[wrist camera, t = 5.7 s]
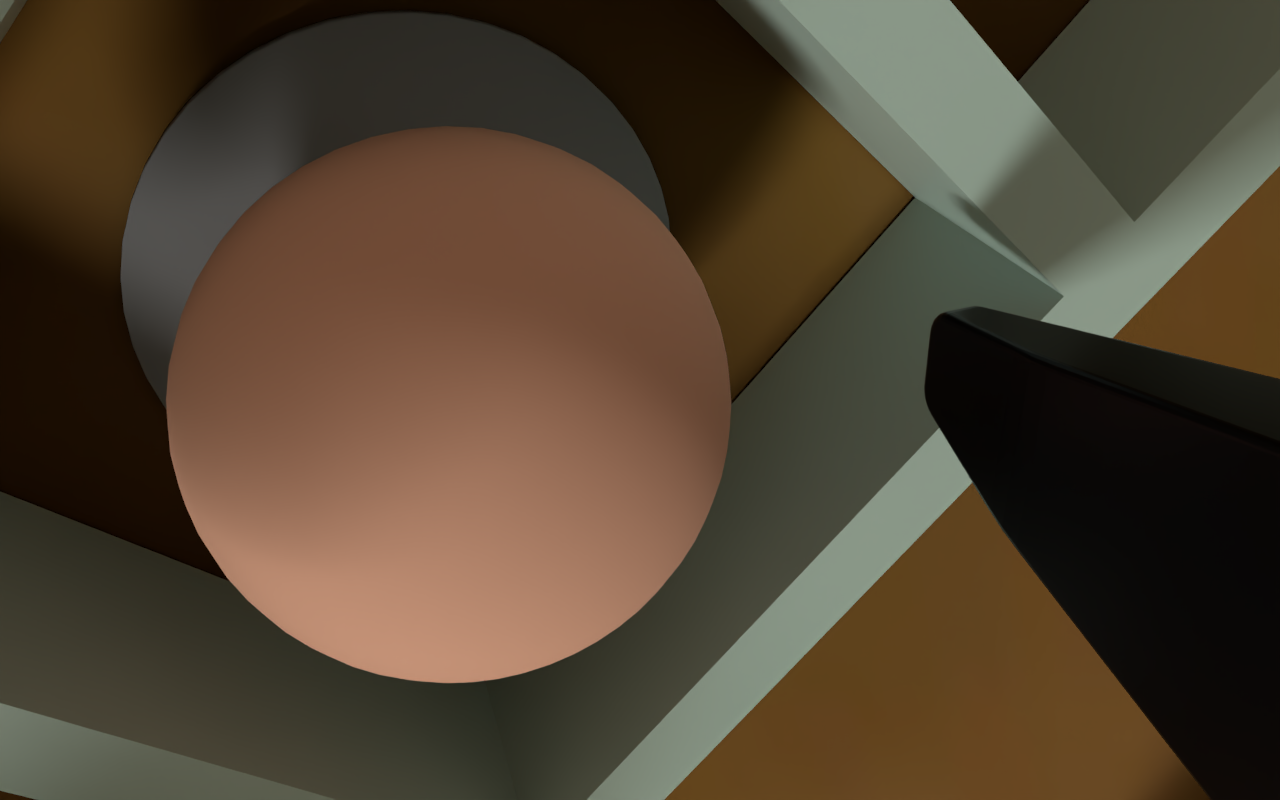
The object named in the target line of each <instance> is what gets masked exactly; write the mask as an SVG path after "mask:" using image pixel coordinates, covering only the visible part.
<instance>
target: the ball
mask: <svg viewBox="0 0 1280 800" xmlns="http://www.w3.org/2000/svg"><path fill="white" fill-rule="evenodd" d="M166 407H167V422H168V434H169V446H170V454H171V458H172V462H173V466H174V470H175V474H176V478H177V482H178V485H179V488H180V491H181V494H182V497H183V500H184V503H185V506H186V508H187V510H188V512H189V515H190V517H191V519H192V521H193V524H194V526H195V528H196V530H197V533H198V535H199V536H200V538H201V539H202V541H203V542H204V544H205V545H206V547H207V548H208V550H209V551H210V553H211V554H212V556H213V557H214V559H215V561H216V562H217V564H218V565H219V567H220V568H221V570H222V571H223V573H224V574H225V575H226V577H227V578H228V579H229V580H230V582H231V583H232V584H233V585H234V586H235V587H236V588H237V589H238V590H239V592H240V593H241V594H242V595H243V596H244V597H245V598H246V599H247V600H248V601H249V602H250V603H251V604H252V605H253V606H255V607H256V608H257V609H258V610H259V611H260V612H261V613H262V614H264V615H265V616H266V617H267V618H269V619H270V620H271V621H272V622H273V623H275V624H276V625H277V626H278V627H280V628H281V629H282V630H283V631H284V632H286V633H287V634H289V635H291V636H292V637H294V638H296V639H297V640H299V641H301V642H302V643H304V644H305V645H307V646H309V647H310V648H312V649H315V650H317V651H319V652H321V653H323V654H325V655H327V656H329V657H332V658H334V659H336V660H338V661H341V662H343V663H345V664H347V665H350V666H352V667H355V668H358V669H362V670H365V671H368V672H372V673H375V674H378V675H383V676H389V677H394V678H400V679H406V680H413V681H422V682H437V683H466V682H479V681H486V680H494V679H500V678H505V677H509V676H514V675H518V674H522V673H526V672H529V671H532V670H535V669H538V668H541V667H544V666H547V665H550V664H553V663H555V662H557V661H560V660H562V659H564V658H567V657H569V656H571V655H574V654H575V653H577V652H579V651H581V650H583V649H585V648H586V647H588V646H590V645H592V644H594V643H596V642H597V641H599V640H600V639H602V638H603V637H605V636H606V635H608V634H609V633H611V632H612V631H614V630H615V629H617V628H618V627H619V626H621V625H622V624H623V623H624V622H626V621H627V620H628V619H629V618H631V617H632V616H633V615H634V614H635V613H637V612H638V611H639V610H640V609H641V608H642V607H643V606H644V605H645V604H646V603H647V602H648V601H649V600H650V599H651V598H652V597H653V596H654V595H655V594H656V593H657V592H658V590H659V589H660V588H661V587H662V586H663V585H664V583H665V582H666V581H667V580H668V578H669V577H670V576H671V575H672V574H673V572H674V571H675V570H676V569H677V567H678V566H679V565H680V564H681V562H682V561H683V559H684V558H685V556H686V554H687V553H688V551H689V550H690V548H691V547H692V545H693V544H694V542H695V540H696V538H697V536H698V534H699V532H700V530H701V528H702V526H703V524H704V522H705V520H706V518H707V515H708V513H709V511H710V508H711V506H712V503H713V500H714V497H715V495H716V492H717V489H718V486H719V483H720V480H721V477H722V473H723V468H724V463H725V459H726V454H727V448H728V440H729V432H730V417H731V392H730V379H729V369H728V361H727V354H726V350H725V346H724V341H723V337H722V333H721V328H720V325H719V323H718V320H717V317H716V315H715V312H714V310H713V307H712V304H711V302H710V299H709V297H708V294H707V292H706V289H705V287H704V284H703V282H702V280H701V278H700V277H699V275H698V273H697V272H696V270H695V268H694V266H693V265H692V263H691V261H690V260H689V258H688V256H687V255H686V253H685V252H684V250H683V249H682V247H681V246H680V245H679V243H678V242H677V240H676V239H675V238H674V237H673V235H672V234H671V233H670V232H669V230H668V229H667V228H666V227H665V225H664V224H663V223H662V222H661V221H660V219H659V218H658V217H657V216H656V215H655V214H654V213H653V212H652V211H651V210H650V209H649V208H648V207H647V206H645V205H644V204H643V203H642V202H641V201H640V200H639V199H638V198H637V197H636V196H634V195H633V194H632V193H631V192H630V191H629V190H627V189H626V188H625V187H624V186H623V185H621V184H620V183H619V182H617V181H616V180H614V179H613V178H611V177H610V176H608V175H607V174H606V173H604V172H603V171H601V170H600V169H598V168H597V167H595V166H594V165H592V164H590V163H588V162H586V161H584V160H582V159H580V158H578V157H576V156H574V155H572V154H570V153H568V152H565V151H563V150H561V149H559V148H556V147H554V146H551V145H548V144H545V143H542V142H539V141H536V140H533V139H530V138H526V137H523V136H520V135H517V134H513V133H507V132H501V131H496V130H490V129H485V128H474V127H453V126H441V127H428V128H416V129H407V130H402V131H397V132H392V133H388V134H383V135H378V136H374V137H370V138H367V139H364V140H361V141H359V142H356V143H353V144H350V145H347V146H344V147H342V148H339V149H336V150H334V151H332V152H330V153H328V154H326V155H324V156H322V157H320V158H318V159H316V160H314V161H312V162H310V163H308V164H306V165H304V166H302V167H301V168H299V169H298V170H296V171H295V172H294V173H292V174H291V175H289V176H288V177H286V178H285V179H283V180H282V181H280V182H279V183H277V184H276V185H275V186H273V187H272V188H270V189H269V190H268V191H267V192H266V193H265V194H264V195H263V196H262V197H261V198H259V199H258V200H257V201H256V202H255V203H254V204H253V205H252V206H251V207H250V208H248V209H247V210H246V211H245V212H244V213H243V214H242V216H241V217H240V218H239V219H238V220H237V222H236V223H235V224H234V225H233V226H232V228H231V229H230V230H229V231H228V232H227V234H226V235H225V236H224V237H223V238H222V240H221V241H220V243H219V244H218V245H217V247H216V248H215V250H214V252H213V253H212V255H211V256H210V258H209V260H208V261H207V263H206V265H205V266H204V268H203V269H202V271H201V273H200V274H199V276H198V278H197V279H196V281H195V283H194V285H193V288H192V290H191V293H190V295H189V297H188V300H187V302H186V304H185V307H184V309H183V312H182V314H181V318H180V322H179V326H178V330H177V334H176V338H175V342H174V346H173V350H172V354H171V358H170V363H169V370H168V382H167V394H166Z"/></svg>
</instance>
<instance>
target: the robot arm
mask: <svg viewBox="0 0 1280 800" xmlns="http://www.w3.org/2000/svg"><path fill="white" fill-rule="evenodd" d="M924 394H925V400H926V404H927V407H928V409H929V411H930V413H931V415H932V417H933V419H934V420H935V422H936V424H937V425H938V427H939V428H940V430H941V432H942V433H943V435H944V437H945V438H946V440H947V442H948V443H949V445H950V446H951V448H952V450H953V451H954V453H955V455H956V456H957V458H958V460H959V461H960V463H961V465H962V466H963V468H964V469H965V471H966V473H967V474H968V476H969V478H970V479H971V481H972V483H973V484H974V486H975V487H976V489H977V491H978V492H979V494H980V496H981V497H982V499H983V501H984V502H985V504H986V505H987V507H988V509H989V510H990V512H991V513H992V515H993V516H994V518H995V519H996V521H997V522H998V524H999V525H1000V527H1001V529H1002V530H1003V531H1004V533H1005V534H1006V535H1007V537H1008V538H1009V540H1010V541H1011V542H1012V544H1013V545H1014V546H1015V548H1016V549H1017V550H1018V552H1019V553H1020V554H1021V556H1022V557H1023V558H1024V559H1025V561H1026V562H1027V563H1028V565H1029V566H1030V567H1031V568H1032V570H1033V571H1034V572H1035V574H1036V575H1037V576H1038V577H1039V579H1040V580H1041V581H1042V583H1043V584H1044V585H1045V587H1046V588H1047V589H1048V590H1049V592H1050V593H1051V594H1052V596H1053V597H1054V598H1055V599H1056V601H1057V602H1058V603H1059V605H1060V606H1061V607H1062V608H1063V610H1064V611H1065V612H1066V614H1067V615H1068V616H1069V618H1070V619H1071V620H1072V621H1073V623H1074V624H1075V625H1076V627H1077V628H1078V629H1079V630H1080V632H1081V633H1082V634H1083V636H1084V637H1085V638H1086V639H1087V641H1088V642H1089V643H1090V645H1091V646H1092V647H1093V649H1094V650H1095V651H1096V652H1097V654H1098V655H1099V656H1100V658H1101V659H1102V660H1103V661H1104V663H1105V664H1106V665H1107V667H1108V668H1109V669H1110V670H1111V672H1112V673H1113V674H1114V676H1115V677H1116V678H1117V680H1118V681H1119V682H1120V683H1121V685H1122V686H1123V687H1124V689H1125V690H1126V691H1127V692H1128V694H1129V695H1130V696H1131V698H1132V699H1133V700H1134V701H1135V703H1136V704H1137V705H1138V707H1139V708H1140V709H1141V711H1142V712H1143V713H1144V714H1145V716H1146V717H1147V718H1148V720H1149V721H1150V722H1151V723H1152V725H1153V726H1154V727H1155V729H1156V730H1157V731H1158V732H1159V734H1160V735H1161V736H1162V738H1163V739H1164V740H1165V742H1166V743H1167V744H1168V745H1169V747H1170V748H1171V749H1172V751H1173V752H1174V753H1175V754H1176V756H1177V757H1178V758H1179V760H1180V761H1181V762H1182V763H1183V765H1184V766H1185V767H1186V769H1187V770H1188V771H1189V773H1190V774H1191V775H1192V776H1193V778H1194V779H1195V780H1196V782H1197V783H1198V784H1199V785H1200V787H1201V788H1202V789H1203V791H1204V792H1205V793H1206V794H1207V796H1208V797H1209V798H1210V800H1280V379H1278V378H1273V377H1269V376H1265V375H1261V374H1257V373H1253V372H1249V371H1245V370H1241V369H1236V368H1232V367H1228V366H1224V365H1220V364H1216V363H1212V362H1208V361H1204V360H1199V359H1195V358H1191V357H1187V356H1183V355H1179V354H1175V353H1171V352H1167V351H1162V350H1158V349H1154V348H1150V347H1146V346H1142V345H1138V344H1134V343H1130V342H1125V341H1121V340H1117V339H1113V338H1109V337H1105V336H1101V335H1097V334H1093V333H1088V332H1084V331H1080V330H1076V329H1072V328H1068V327H1064V326H1060V325H1056V324H1051V323H1047V322H1043V321H1039V320H1035V319H1031V318H1027V317H1023V316H1019V315H1014V314H1010V313H1006V312H1002V311H998V310H994V309H990V308H986V307H981V306H970V307H965V308H960V309H956V310H951V311H946V312H943V313H940V314H939V315H938V316H937V317H936V318H935V319H934V321H933V323H932V325H931V330H930V338H929V347H928V356H927V365H926V374H925V383H924Z"/></svg>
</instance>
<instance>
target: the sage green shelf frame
mask: <svg viewBox="0 0 1280 800" xmlns="http://www.w3.org/2000/svg"><path fill="white" fill-rule="evenodd" d="M716 1H717V2H718V3H719V4H720V5H721V6H722V7H723V8H724V9H725V10H726V11H727V12H728V13H729V14H730V15H731V16H732V17H733V18H734V19H735V20H736V21H737V22H738V23H739V24H740V25H741V26H742V27H743V28H744V29H745V30H746V31H747V32H748V33H749V34H750V35H751V36H752V37H753V38H754V39H755V40H756V41H757V42H758V43H759V44H760V45H761V46H762V47H763V48H764V49H765V50H766V51H767V52H768V53H769V54H770V55H771V56H772V57H773V58H774V59H775V60H776V61H777V62H778V63H779V64H780V65H781V66H782V67H783V68H784V69H785V70H787V71H788V72H789V73H790V74H791V75H792V76H793V77H794V78H795V79H796V80H797V81H798V82H799V83H800V84H801V85H802V86H803V87H804V88H805V89H806V90H807V91H808V92H809V93H810V94H811V95H812V96H813V97H814V98H815V99H816V100H817V101H818V102H819V103H820V104H821V105H822V106H823V107H824V108H825V109H826V110H827V111H828V112H829V113H830V114H831V115H832V116H833V117H834V118H835V119H836V120H837V121H838V122H839V123H840V124H841V125H842V126H843V127H844V128H845V129H846V130H847V131H848V132H849V133H850V134H851V135H852V136H853V137H854V138H855V139H856V140H857V141H858V142H860V143H861V144H862V145H863V146H864V147H865V148H866V149H867V150H868V151H869V152H870V153H871V154H872V155H873V156H874V157H875V158H876V159H877V160H878V161H879V162H880V163H881V164H882V165H883V166H884V167H885V168H886V169H887V170H888V171H889V172H890V173H891V174H892V175H893V176H894V177H895V178H896V179H897V180H898V181H899V182H900V183H901V184H902V185H903V186H904V187H905V188H906V189H907V190H908V191H909V192H910V193H911V194H912V195H913V196H914V197H915V198H914V199H913V200H912V202H911V203H910V204H909V205H908V206H907V207H906V208H905V209H904V211H903V212H902V213H901V214H900V215H899V216H898V217H897V218H896V220H895V221H894V222H893V223H892V224H891V225H890V226H889V228H888V229H887V230H886V231H885V232H884V233H883V234H882V235H881V237H880V238H879V239H878V240H877V241H876V242H875V243H874V244H873V246H872V247H871V248H870V249H869V250H868V251H867V252H866V253H865V255H864V256H863V257H862V258H861V259H860V260H859V261H858V262H857V264H856V265H855V266H854V267H853V268H852V269H851V270H850V271H849V273H848V274H847V275H846V276H845V277H844V278H843V279H842V280H841V282H840V283H839V284H838V285H837V286H836V287H835V288H834V289H833V291H832V292H831V293H830V294H829V295H828V296H827V297H826V298H825V300H824V301H823V302H822V303H821V304H820V305H819V306H818V308H817V309H816V310H815V311H814V312H813V313H812V314H811V315H810V317H809V318H808V319H807V320H806V321H805V322H804V323H803V324H802V326H801V327H800V328H799V329H798V330H797V331H796V332H795V333H794V335H793V336H792V337H791V338H790V339H789V340H788V341H787V342H786V344H785V345H784V346H783V347H782V348H781V349H780V350H779V351H778V353H777V354H776V355H775V356H774V357H773V358H772V359H771V360H770V362H769V363H768V364H767V365H766V366H765V367H764V368H763V369H762V371H761V372H760V373H759V374H758V375H757V376H756V377H755V379H754V380H753V381H752V382H751V383H750V384H749V385H748V386H747V388H746V389H745V390H744V391H743V392H742V393H741V394H740V395H739V397H738V398H737V399H736V400H735V401H734V402H733V403H732V404H731V417H730V432H729V440H728V448H727V454H726V459H725V463H724V468H723V473H722V477H721V480H720V483H719V486H718V489H717V492H716V495H715V497H714V500H713V503H712V506H711V508H710V511H709V513H708V515H707V518H706V520H705V522H704V524H703V526H702V528H701V530H700V532H699V534H698V536H697V538H696V540H695V542H694V544H693V545H692V547H691V548H690V550H689V551H688V553H687V554H686V556H685V558H684V559H683V561H682V562H681V564H680V565H679V566H678V567H677V569H676V570H675V571H674V572H673V574H672V575H671V576H670V577H669V578H668V580H667V581H666V582H665V583H664V585H663V586H662V587H661V588H660V589H659V590H658V592H657V593H656V594H655V595H654V596H653V597H652V598H651V599H650V600H649V601H648V602H647V603H646V604H645V605H644V606H643V607H642V608H641V609H640V610H639V611H638V612H637V613H635V614H634V615H633V616H632V617H631V618H629V619H628V620H627V621H626V622H624V623H623V624H622V625H621V626H619V627H618V628H617V629H615V630H614V631H612V632H611V633H609V634H608V635H606V636H605V637H603V638H602V639H600V640H599V641H597V642H596V643H594V644H592V645H590V646H588V647H586V648H585V649H583V650H581V651H579V652H577V653H575V654H574V655H571V656H569V657H567V658H564V659H562V660H560V661H557V662H555V663H553V664H550V665H547V666H544V667H541V668H538V669H535V670H532V671H529V672H526V673H522V674H518V675H514V676H509V677H505V678H500V679H494V680H486V682H485V681H479V682H466V683H437V682H422V681H413V680H406V679H400V678H394V677H389V676H383V675H378V674H375V673H372V672H368V671H365V670H362V669H358V668H355V667H352V666H350V665H347V664H345V663H343V662H341V661H338V660H336V659H334V658H332V657H329V656H327V655H325V654H323V653H321V652H319V651H317V650H315V649H312V648H310V647H309V646H307V645H305V644H304V643H302V642H301V641H299V640H297V639H296V638H294V637H292V636H291V635H289V634H287V633H286V632H284V631H283V630H282V629H281V628H280V627H278V626H277V625H276V624H275V623H273V622H272V621H271V620H270V619H269V618H267V617H266V616H265V615H264V614H262V613H261V612H260V611H259V610H258V609H257V608H256V607H255V606H253V605H252V604H251V603H250V602H249V601H248V600H247V599H246V598H245V597H244V596H243V595H242V594H241V593H240V592H239V590H238V589H237V588H236V587H235V586H234V585H233V584H232V583H231V582H230V581H227V580H225V579H222V578H220V577H217V576H214V575H212V574H209V573H207V572H204V571H202V570H199V569H197V568H194V567H191V566H189V565H186V564H184V563H181V562H179V561H176V560H174V559H171V558H169V557H166V556H163V555H161V554H158V553H156V552H153V551H151V550H148V549H146V548H143V547H141V546H138V545H135V544H133V543H130V542H128V541H125V540H123V539H120V538H118V537H115V536H112V535H110V534H107V533H105V532H102V531H100V530H97V529H95V528H92V527H90V526H87V525H84V524H82V523H79V522H77V521H74V520H72V519H69V518H67V517H64V516H61V515H59V514H56V513H54V512H51V511H49V510H46V509H44V508H41V507H39V506H36V505H33V504H31V503H28V502H26V501H23V500H21V499H18V498H16V497H13V496H11V495H8V494H5V493H3V492H0V791H3V792H7V793H11V794H16V795H20V796H24V797H28V798H32V799H36V800H664V799H665V798H666V797H667V796H668V795H669V794H670V793H671V792H672V791H673V790H674V789H675V788H676V787H677V786H678V785H679V784H680V783H681V782H682V781H683V780H684V779H685V778H686V777H687V776H688V775H689V773H690V772H691V771H692V770H693V769H694V768H695V767H696V766H697V765H698V764H699V763H700V762H701V761H702V760H703V759H704V758H705V757H706V756H707V755H708V754H709V753H710V752H711V751H712V750H713V749H714V748H715V747H716V746H717V745H718V744H719V743H720V742H721V741H722V740H723V738H724V737H725V736H726V735H727V734H728V733H729V732H730V731H731V730H732V729H733V728H734V727H735V726H736V725H737V724H738V723H739V722H740V721H741V720H742V719H743V718H744V717H745V716H746V715H747V714H748V713H749V712H750V711H751V710H752V709H753V708H754V707H755V706H756V705H757V703H758V702H759V701H760V700H761V699H762V698H763V697H764V696H765V695H766V694H767V693H768V692H769V691H770V690H771V689H772V688H773V687H774V686H775V685H776V684H777V683H778V682H779V681H780V680H781V679H782V678H783V677H784V676H785V675H786V674H787V673H788V672H789V671H790V669H791V668H792V667H793V666H794V665H795V664H796V663H797V662H798V661H799V660H800V659H801V658H802V657H803V656H804V655H805V654H806V653H807V652H808V651H809V650H810V649H811V648H812V647H813V646H814V645H815V644H816V643H817V642H818V641H819V640H820V639H821V638H822V637H823V636H824V634H825V633H826V632H827V631H828V630H829V629H830V628H831V627H832V626H833V625H834V624H835V623H836V622H837V621H838V620H839V619H840V618H841V617H842V616H843V615H844V614H845V613H846V612H847V611H848V610H849V609H850V608H851V607H852V606H853V605H854V604H855V603H856V602H857V601H858V599H859V598H860V597H861V596H862V595H863V594H864V593H865V592H866V591H867V590H868V589H869V588H870V587H871V586H872V585H873V584H874V583H875V582H876V581H877V580H878V579H879V578H880V577H881V576H882V575H883V574H884V573H885V572H886V571H887V570H888V569H889V568H890V567H891V565H892V564H893V563H894V562H895V561H896V560H897V559H898V558H899V557H900V556H901V555H902V554H903V553H904V552H905V551H906V550H907V549H908V548H909V547H910V546H911V545H912V544H913V543H914V542H915V541H916V540H917V539H918V538H919V537H920V536H921V535H922V534H923V533H924V532H925V530H926V529H927V528H928V527H929V526H930V525H931V524H932V523H933V522H934V521H935V520H936V519H937V518H938V517H939V516H940V515H941V514H942V513H943V512H944V511H945V510H946V509H947V508H948V507H949V506H950V505H951V504H952V503H953V502H954V501H955V500H956V499H957V498H958V497H959V495H960V494H961V493H962V492H963V491H964V490H965V489H966V488H967V487H968V486H969V485H970V484H971V483H972V481H971V479H970V478H969V476H968V474H967V473H966V471H965V469H964V468H963V466H962V465H961V463H960V461H959V460H958V458H957V456H956V455H955V453H954V451H953V450H952V448H951V446H950V445H949V443H948V442H947V440H946V438H945V437H944V435H943V433H942V432H941V430H940V428H939V427H938V425H937V424H936V422H935V420H934V419H933V417H932V415H931V413H930V411H929V409H928V407H927V404H926V400H925V394H924V383H925V374H926V365H927V356H928V347H929V338H930V330H931V325H932V323H933V321H934V319H935V318H936V317H937V316H938V315H939V314H940V313H943V312H946V311H951V310H956V309H960V308H965V307H970V306H981V307H986V308H990V309H994V310H998V311H1002V312H1006V313H1010V314H1014V315H1019V316H1023V317H1027V318H1031V319H1035V320H1039V321H1043V322H1047V323H1051V324H1056V325H1060V326H1064V327H1068V328H1072V329H1076V330H1080V331H1084V332H1088V333H1093V334H1097V335H1101V336H1105V337H1109V338H1113V337H1114V336H1115V335H1116V334H1117V333H1118V332H1119V331H1120V330H1121V329H1122V328H1123V327H1124V326H1125V325H1126V324H1127V322H1128V321H1129V320H1130V319H1131V318H1132V317H1133V316H1134V315H1135V314H1136V313H1137V312H1138V311H1139V310H1140V309H1141V308H1142V307H1143V306H1144V305H1145V304H1146V303H1147V302H1148V301H1149V300H1150V299H1151V298H1152V297H1153V296H1154V295H1155V294H1156V293H1157V292H1158V291H1159V290H1160V289H1161V287H1162V286H1163V285H1164V284H1165V283H1166V282H1167V281H1168V280H1169V279H1170V278H1171V277H1172V276H1173V275H1174V274H1175V273H1176V272H1177V271H1178V270H1179V269H1180V268H1181V267H1182V266H1183V265H1184V264H1185V263H1186V262H1187V261H1188V260H1189V259H1190V258H1191V257H1192V256H1193V255H1194V254H1195V252H1196V251H1197V250H1198V249H1199V248H1200V247H1201V246H1202V245H1203V244H1204V243H1205V242H1206V241H1207V240H1208V239H1209V238H1210V237H1211V236H1212V235H1213V234H1214V233H1215V232H1216V231H1217V230H1218V229H1219V228H1220V227H1221V226H1222V225H1223V224H1224V223H1225V222H1226V221H1227V220H1228V218H1229V217H1230V216H1231V215H1232V214H1233V213H1234V212H1235V211H1236V210H1237V209H1238V208H1239V207H1240V206H1241V205H1242V204H1243V203H1244V202H1245V201H1246V200H1247V199H1248V198H1249V197H1250V196H1251V195H1252V194H1253V193H1254V192H1255V191H1256V190H1257V189H1258V188H1259V187H1260V186H1261V185H1262V183H1263V182H1264V181H1265V180H1266V179H1267V178H1268V177H1269V176H1270V175H1271V174H1272V173H1273V172H1274V171H1275V170H1276V169H1277V168H1278V167H1279V166H1280V0H1090V1H1089V2H1088V3H1087V4H1086V6H1085V7H1084V8H1083V9H1082V10H1081V11H1080V12H1079V13H1078V15H1077V16H1076V17H1075V18H1074V19H1073V20H1072V21H1071V22H1070V24H1069V25H1068V26H1067V27H1066V28H1065V29H1064V30H1063V31H1062V33H1061V34H1060V35H1059V36H1058V37H1057V38H1056V39H1055V40H1054V42H1053V43H1052V44H1051V45H1050V46H1049V47H1048V48H1047V49H1046V51H1045V52H1044V53H1043V54H1042V55H1041V56H1040V57H1039V58H1038V60H1037V61H1036V62H1035V63H1034V64H1033V65H1032V66H1031V67H1030V69H1029V70H1028V71H1027V72H1026V73H1025V74H1024V75H1023V77H1022V78H1021V79H1020V80H1019V81H1018V82H1017V80H1016V79H1015V78H1014V77H1013V76H1012V74H1011V73H1010V72H1009V71H1008V70H1007V68H1006V67H1005V66H1004V65H1003V64H1002V62H1001V61H1000V60H999V59H998V57H997V56H996V55H995V54H994V53H993V51H992V50H991V49H990V48H989V47H988V45H987V44H986V43H985V42H984V41H983V39H982V38H981V37H980V36H979V35H978V33H977V32H976V31H975V30H974V29H973V27H972V26H971V25H970V24H969V23H968V21H967V20H966V19H965V18H964V17H963V15H962V14H961V13H960V12H959V11H958V9H957V8H956V7H955V6H954V5H953V3H952V2H951V1H950V0H716ZM26 2H27V0H0V43H1V41H2V39H3V38H4V36H5V35H6V33H7V32H8V30H9V28H10V27H11V25H12V24H13V22H14V20H15V19H16V17H17V16H18V14H19V13H20V11H21V9H22V8H23V6H24V5H25V3H26Z"/></svg>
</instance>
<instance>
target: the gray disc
mask: <svg viewBox="0 0 1280 800" xmlns="http://www.w3.org/2000/svg"><path fill="white" fill-rule="evenodd" d="M441 126H453V127H474V128H485V129H490V130H496V131H501V132H507V133H513V134H517V135H520V136H523V137H526V138H530V139H533V140H536V141H539V142H542V143H545V144H548V145H551V146H554V147H556V148H559V149H561V150H563V151H565V152H568V153H570V154H572V155H574V156H576V157H578V158H580V159H582V160H584V161H586V162H588V163H590V164H592V165H594V166H595V167H597V168H598V169H600V170H601V171H603V172H604V173H606V174H607V175H608V176H610V177H611V178H613V179H614V180H616V181H617V182H619V183H620V184H621V185H623V186H624V187H625V188H626V189H627V190H629V191H630V192H631V193H632V194H633V195H634V196H636V197H637V198H638V199H639V200H640V201H641V202H642V203H643V204H644V205H645V206H647V207H648V208H649V209H650V210H651V211H652V212H653V213H654V214H655V215H656V216H657V217H658V218H659V219H660V221H661V222H662V223H663V224H664V225H665V227H666V228H667V229H668V230H669V232H670V228H669V218H668V214H667V210H666V206H665V201H664V197H663V193H662V189H661V186H660V183H659V181H658V178H657V176H656V173H655V171H654V168H653V166H652V163H651V161H650V158H649V156H648V155H647V153H646V151H645V149H644V148H643V146H642V144H641V142H640V141H639V139H638V137H637V135H636V134H635V132H634V130H633V129H632V127H631V126H630V125H629V124H628V122H627V121H626V120H625V118H624V117H623V116H622V115H621V113H620V112H619V111H618V109H617V108H616V107H615V105H614V104H613V103H612V102H611V101H610V100H609V99H608V98H607V97H606V96H605V95H604V94H603V93H602V92H601V91H600V90H599V89H598V88H597V87H596V86H595V85H594V84H593V83H592V82H590V81H589V80H588V79H587V78H586V77H585V76H584V75H583V74H582V73H581V72H579V71H578V70H577V69H575V68H574V67H572V66H571V65H570V64H568V63H567V62H566V61H564V60H563V59H562V58H560V57H559V56H557V55H556V54H555V53H553V52H551V51H550V50H548V49H546V48H544V47H542V46H540V45H538V44H537V43H535V42H533V41H531V40H529V39H527V38H525V37H524V36H522V35H519V34H517V33H514V32H511V31H509V30H506V29H503V28H500V27H498V26H495V25H492V24H490V23H487V22H484V21H479V20H475V19H470V18H466V17H461V16H457V15H453V14H448V13H438V12H426V11H414V10H396V11H375V12H364V13H359V14H353V15H348V16H343V17H337V18H332V19H327V20H324V21H321V22H318V23H315V24H312V25H309V26H306V27H303V28H300V29H297V30H294V31H291V32H288V33H286V34H284V35H282V36H280V37H278V38H276V39H274V40H272V41H270V42H268V43H266V44H264V45H262V46H260V47H258V48H256V49H253V50H252V51H250V52H249V53H247V54H246V55H244V56H243V57H241V58H240V59H238V60H237V61H235V62H234V63H233V64H231V65H230V66H228V67H227V68H225V69H224V70H222V71H221V72H219V73H218V74H217V75H216V76H215V77H214V78H213V79H212V80H210V81H209V82H208V83H207V84H206V85H205V86H204V87H203V88H202V89H201V90H200V91H199V92H197V93H196V94H195V95H194V96H193V97H192V98H191V99H190V100H189V101H188V102H187V103H186V105H185V106H184V107H183V108H182V110H181V111H180V112H179V113H178V115H177V116H176V117H175V118H174V120H173V121H172V122H171V123H170V125H169V126H168V127H167V128H166V130H165V131H164V133H163V134H162V136H161V138H160V139H159V141H158V143H157V145H156V146H155V148H154V150H153V152H152V153H151V155H150V157H149V158H148V160H147V162H146V164H145V166H144V169H143V171H142V174H141V176H140V179H139V181H138V184H137V187H136V189H135V192H134V194H133V197H132V200H131V205H130V209H129V214H128V218H127V223H126V228H125V232H124V237H123V242H122V260H121V277H120V278H121V287H122V297H123V307H124V314H125V318H126V322H127V326H128V330H129V334H130V337H131V341H132V345H133V348H134V350H135V352H136V355H137V357H138V359H139V362H140V364H141V366H142V369H143V371H144V373H145V376H146V378H147V379H148V381H149V383H150V384H151V386H152V387H153V389H154V391H155V392H156V394H157V396H158V397H159V399H160V400H161V402H162V404H163V405H164V407H165V408H166V409H167V407H166V394H167V382H168V370H169V363H170V358H171V354H172V350H173V346H174V342H175V338H176V334H177V330H178V326H179V322H180V318H181V314H182V312H183V309H184V307H185V304H186V302H187V300H188V297H189V295H190V293H191V290H192V288H193V285H194V283H195V281H196V279H197V278H198V276H199V274H200V273H201V271H202V269H203V268H204V266H205V265H206V263H207V261H208V260H209V258H210V256H211V255H212V253H213V252H214V250H215V248H216V247H217V245H218V244H219V243H220V241H221V240H222V238H223V237H224V236H225V235H226V234H227V232H228V231H229V230H230V229H231V228H232V226H233V225H234V224H235V223H236V222H237V220H238V219H239V218H240V217H241V216H242V214H243V213H244V212H245V211H246V210H247V209H248V208H250V207H251V206H252V205H253V204H254V203H255V202H256V201H257V200H258V199H259V198H261V197H262V196H263V195H264V194H265V193H266V192H267V191H268V190H269V189H270V188H272V187H273V186H275V185H276V184H277V183H279V182H280V181H282V180H283V179H285V178H286V177H288V176H289V175H291V174H292V173H294V172H295V171H296V170H298V169H299V168H301V167H302V166H304V165H306V164H308V163H310V162H312V161H314V160H316V159H318V158H320V157H322V156H324V155H326V154H328V153H330V152H332V151H334V150H336V149H339V148H342V147H344V146H347V145H350V144H353V143H356V142H359V141H361V140H364V139H367V138H370V137H374V136H378V135H383V134H388V133H392V132H397V131H402V130H407V129H416V128H428V127H441Z"/></svg>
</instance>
